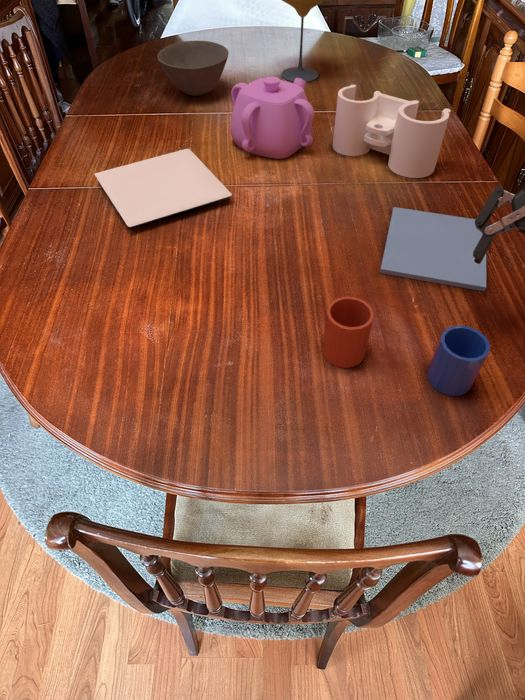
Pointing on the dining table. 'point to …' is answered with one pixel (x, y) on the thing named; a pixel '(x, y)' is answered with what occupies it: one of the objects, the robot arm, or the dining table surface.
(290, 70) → the cocktail glass
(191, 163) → the plate
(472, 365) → the blue cup
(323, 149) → the dining table surface
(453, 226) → the blue mat
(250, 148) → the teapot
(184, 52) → the bowl
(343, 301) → the terracotta cup
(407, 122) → the bracket
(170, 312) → the dining table surface
